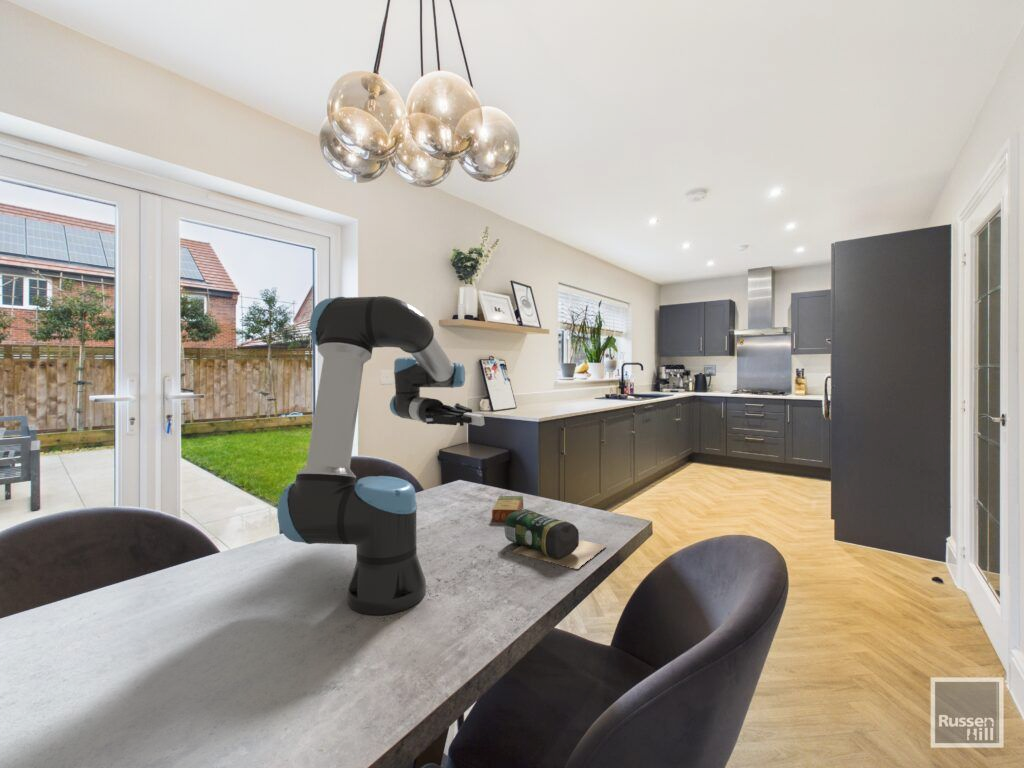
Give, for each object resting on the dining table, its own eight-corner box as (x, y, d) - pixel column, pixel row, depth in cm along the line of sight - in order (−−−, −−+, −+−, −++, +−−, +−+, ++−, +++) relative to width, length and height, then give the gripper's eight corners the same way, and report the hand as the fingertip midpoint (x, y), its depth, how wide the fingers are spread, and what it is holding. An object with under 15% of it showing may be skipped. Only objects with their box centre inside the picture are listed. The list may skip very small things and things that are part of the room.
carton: (491, 523, 135) (491, 508, 135) (498, 507, 151) (498, 494, 151) (519, 523, 134) (518, 509, 134) (523, 507, 150) (523, 495, 150)
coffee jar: (528, 505, 123) (582, 521, 109) (528, 533, 123) (582, 553, 110) (502, 513, 116) (556, 531, 103) (502, 543, 116) (556, 565, 103)
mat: (512, 552, 111) (512, 550, 111) (545, 533, 124) (545, 531, 124) (577, 570, 101) (577, 568, 101) (606, 547, 114) (606, 545, 114)
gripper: (445, 415, 142) (500, 425, 126) (412, 428, 132) (466, 442, 117) (441, 392, 140) (496, 400, 124) (407, 404, 130) (462, 414, 115)
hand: (482, 420), depth 120 cm, fingers closed
